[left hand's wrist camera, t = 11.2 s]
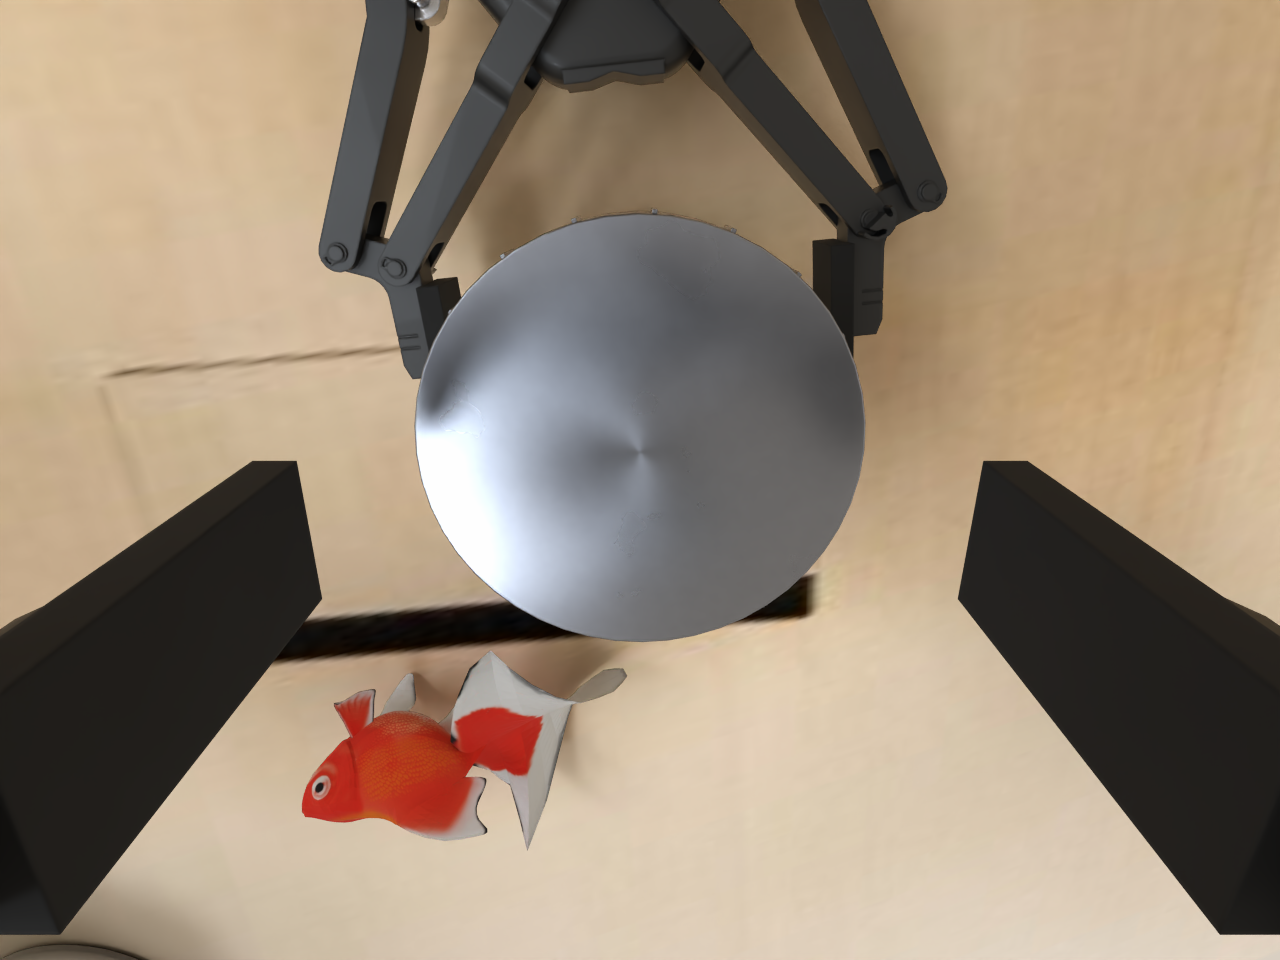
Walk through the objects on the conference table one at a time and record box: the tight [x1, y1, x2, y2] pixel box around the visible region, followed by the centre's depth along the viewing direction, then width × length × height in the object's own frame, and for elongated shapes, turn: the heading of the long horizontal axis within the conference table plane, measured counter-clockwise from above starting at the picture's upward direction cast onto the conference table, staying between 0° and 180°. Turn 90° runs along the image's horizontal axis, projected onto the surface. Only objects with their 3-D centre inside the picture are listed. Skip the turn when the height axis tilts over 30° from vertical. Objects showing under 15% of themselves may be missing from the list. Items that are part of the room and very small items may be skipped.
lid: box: [415, 208, 865, 642], centre depth 18 cm, size 10×10×2 cm
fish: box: [302, 650, 627, 851], centre depth 35 cm, size 11×16×10 cm
